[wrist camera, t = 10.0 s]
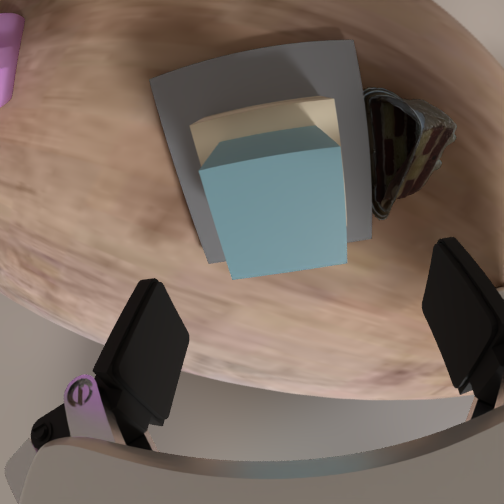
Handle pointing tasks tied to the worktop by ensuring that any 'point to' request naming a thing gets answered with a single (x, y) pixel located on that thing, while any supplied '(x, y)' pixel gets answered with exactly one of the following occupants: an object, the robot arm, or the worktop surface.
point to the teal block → (278, 201)
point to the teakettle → (9, 52)
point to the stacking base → (260, 88)
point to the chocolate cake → (402, 145)
